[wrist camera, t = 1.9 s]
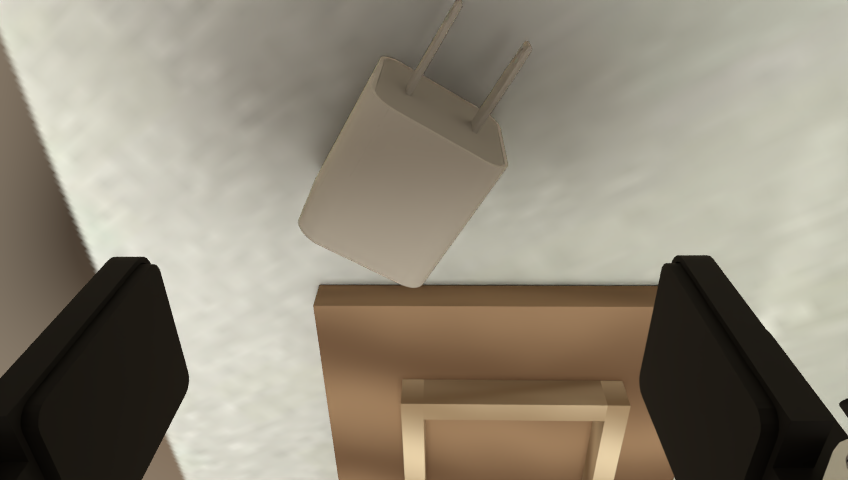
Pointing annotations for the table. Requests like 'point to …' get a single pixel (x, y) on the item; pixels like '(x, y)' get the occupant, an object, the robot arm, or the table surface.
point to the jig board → (488, 382)
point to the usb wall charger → (407, 169)
